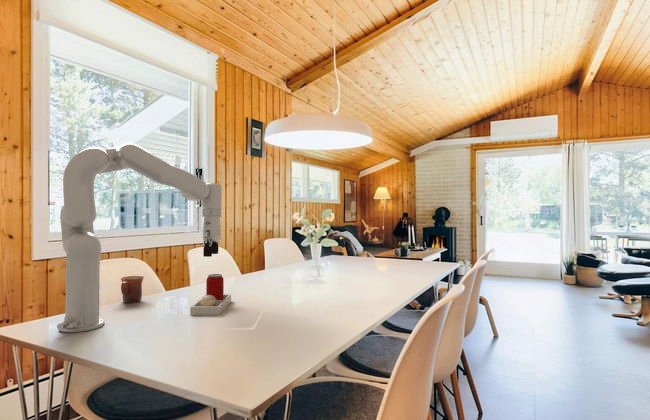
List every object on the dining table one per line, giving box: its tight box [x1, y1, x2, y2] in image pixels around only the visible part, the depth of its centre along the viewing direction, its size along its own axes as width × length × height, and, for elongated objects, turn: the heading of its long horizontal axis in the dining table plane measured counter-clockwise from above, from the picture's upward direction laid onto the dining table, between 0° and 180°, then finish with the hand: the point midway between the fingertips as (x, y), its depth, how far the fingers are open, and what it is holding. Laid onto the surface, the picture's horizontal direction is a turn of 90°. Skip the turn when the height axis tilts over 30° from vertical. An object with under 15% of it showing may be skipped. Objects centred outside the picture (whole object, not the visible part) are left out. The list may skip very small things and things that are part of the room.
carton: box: [189, 294, 232, 316], centre depth 148 cm, size 20×11×4 cm, turn 2°
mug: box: [120, 275, 145, 304], centre depth 157 cm, size 12×9×10 cm
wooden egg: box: [201, 295, 217, 306], centre depth 143 cm, size 6×6×6 cm
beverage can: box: [205, 273, 225, 300], centre depth 153 cm, size 7×7×12 cm
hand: (211, 255), depth 153 cm, fingers open, 9 cm apart
